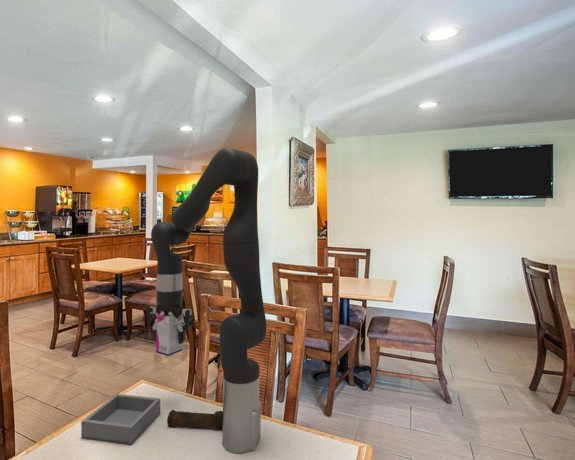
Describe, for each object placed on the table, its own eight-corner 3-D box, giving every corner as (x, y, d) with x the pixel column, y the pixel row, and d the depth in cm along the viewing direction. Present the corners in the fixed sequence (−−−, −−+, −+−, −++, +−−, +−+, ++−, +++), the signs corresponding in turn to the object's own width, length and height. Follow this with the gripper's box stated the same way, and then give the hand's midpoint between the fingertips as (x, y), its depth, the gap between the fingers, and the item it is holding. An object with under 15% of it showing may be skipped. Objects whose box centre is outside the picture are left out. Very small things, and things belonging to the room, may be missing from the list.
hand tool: (165, 429, 93) (165, 412, 93) (172, 420, 97) (172, 404, 97) (233, 436, 90) (233, 419, 90) (237, 427, 94) (237, 411, 94)
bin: (160, 413, 100) (160, 398, 99) (131, 445, 86) (131, 427, 86) (116, 408, 102) (116, 393, 102) (81, 438, 88) (81, 421, 88)
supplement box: (183, 350, 105) (184, 313, 104) (168, 356, 100) (168, 317, 99) (171, 346, 108) (171, 310, 107) (155, 352, 103) (155, 314, 102)
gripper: (197, 286, 106) (196, 339, 106) (154, 284, 108) (154, 336, 109) (186, 291, 98) (186, 348, 99) (140, 289, 101) (140, 344, 101)
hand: (169, 341), depth 104 cm, fingers closed on supplement box, 7 cm apart
